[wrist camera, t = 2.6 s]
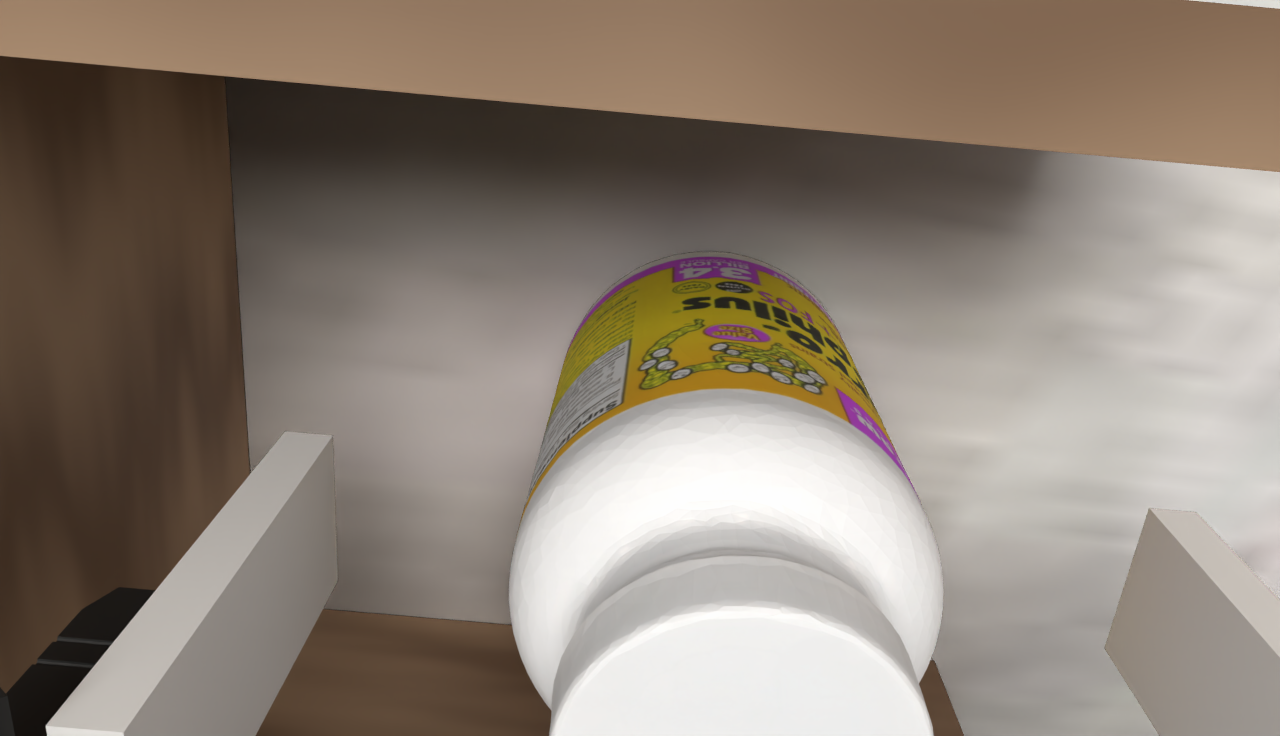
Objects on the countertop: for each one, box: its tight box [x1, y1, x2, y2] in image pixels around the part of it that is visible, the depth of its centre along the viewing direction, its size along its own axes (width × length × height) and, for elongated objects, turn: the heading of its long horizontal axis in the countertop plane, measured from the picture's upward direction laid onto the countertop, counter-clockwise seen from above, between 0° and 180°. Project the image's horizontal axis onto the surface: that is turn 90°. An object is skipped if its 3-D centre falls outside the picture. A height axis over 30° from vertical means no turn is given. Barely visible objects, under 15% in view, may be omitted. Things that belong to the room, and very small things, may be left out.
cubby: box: [0, 0, 1280, 736], centre depth 17 cm, size 18×20×15 cm
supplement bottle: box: [509, 252, 944, 736], centre depth 18 cm, size 7×7×13 cm
